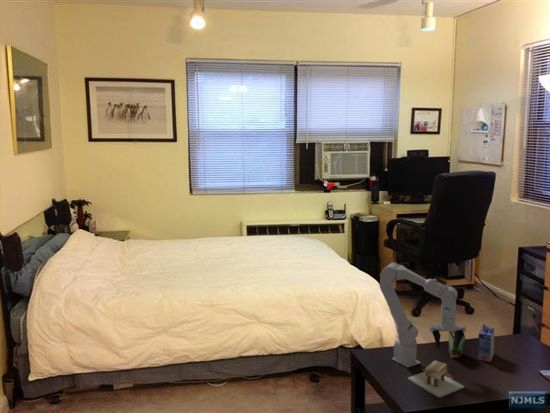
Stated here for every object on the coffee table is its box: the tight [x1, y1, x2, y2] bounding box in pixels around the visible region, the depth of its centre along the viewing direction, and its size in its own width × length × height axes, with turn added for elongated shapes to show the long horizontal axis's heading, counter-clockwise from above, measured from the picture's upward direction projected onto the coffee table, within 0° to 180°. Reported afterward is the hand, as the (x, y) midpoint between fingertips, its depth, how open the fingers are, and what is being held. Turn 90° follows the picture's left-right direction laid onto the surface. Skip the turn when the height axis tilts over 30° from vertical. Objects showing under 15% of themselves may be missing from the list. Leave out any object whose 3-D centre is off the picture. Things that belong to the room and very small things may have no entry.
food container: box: [448, 331, 466, 359], centre depth 213 cm, size 12×6×10 cm, turn 168°
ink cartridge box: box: [477, 323, 495, 363], centre depth 210 cm, size 10×6×14 cm, turn 148°
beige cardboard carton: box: [424, 360, 448, 387], centre depth 188 cm, size 5×9×6 cm, turn 138°
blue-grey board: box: [407, 371, 465, 398], centre depth 188 cm, size 16×14×1 cm
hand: (446, 347), depth 197 cm, fingers open, 7 cm apart
